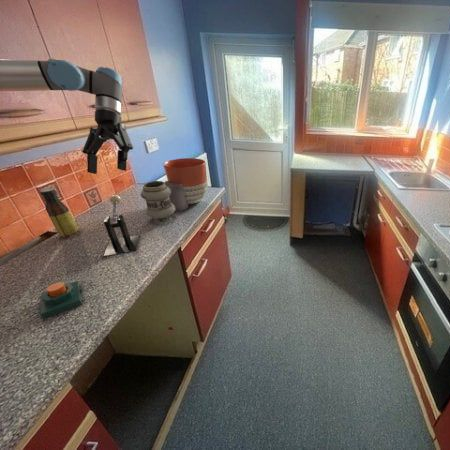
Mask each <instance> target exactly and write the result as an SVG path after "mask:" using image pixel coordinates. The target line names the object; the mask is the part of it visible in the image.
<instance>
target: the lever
mask: <svg viewBox="0 0 450 450" xmlns="http://www.w3.org/2000/svg"><path fill="white" fill-rule="evenodd" d="M109 202H110V204H113V205H112V206H113V207H112V217H110V225H111V227H112V228H114V229H115V228H120V227H119V224H118V221H117V220H118V217H119V216H118V205H119V204H121V202H122V198H121V196H120V195H118V194H113V195H111V196H110V197H109Z"/></svg>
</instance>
